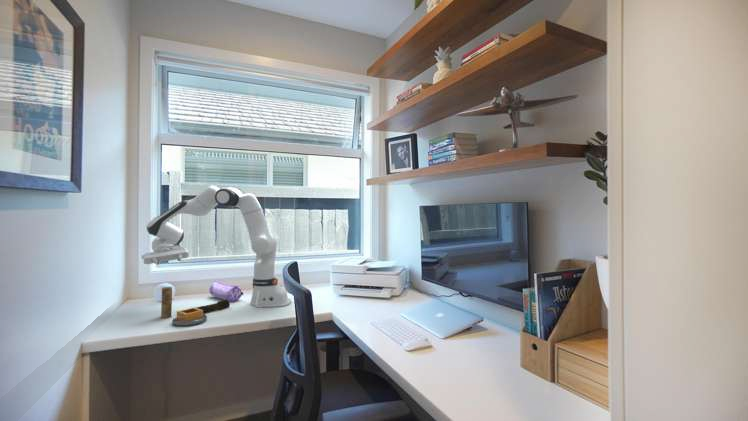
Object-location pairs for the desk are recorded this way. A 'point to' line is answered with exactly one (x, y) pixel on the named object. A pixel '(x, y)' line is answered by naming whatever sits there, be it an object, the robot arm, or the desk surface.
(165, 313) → the brown wooden block
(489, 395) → the desk surface
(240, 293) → the pencil case
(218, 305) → the hand tool
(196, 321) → the collar base
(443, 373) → the desk surface
